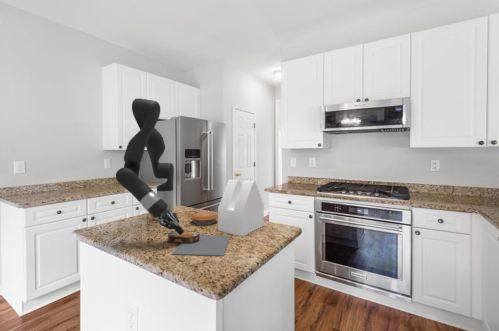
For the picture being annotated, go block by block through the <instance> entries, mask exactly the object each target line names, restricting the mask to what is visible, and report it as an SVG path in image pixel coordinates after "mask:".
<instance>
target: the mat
mask: <svg viewBox="0 0 499 331" xmlns="http://www.w3.org/2000/svg"><path fill="white" fill-rule="evenodd" d="M199 236H200V238H199V239H198V240H197V241H195V242H191V243H181V242H180V244H179V245H178V246H177V247H176V249H175V250H173V252H171V255H172V256H193V257H194V256H195V257H196V256H197V257H198V256H200V257H201V256H204V257H205V256H206V257H207V256H208V257H224V256H225V253H226V250H227V248H228V245H229V243H230V240H231V236H232V235H222V234H221V235H220V234H219V235H214V234H212V235H210V234H199Z"/></svg>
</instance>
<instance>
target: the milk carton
mask: <svg viewBox="0 0 499 331" xmlns="http://www.w3.org/2000/svg"><path fill="white" fill-rule="evenodd" d="M264 210H265V205H264V202H263V199H262V196H261V194H260V191H259V188H258V185H257V183H256V181H252V180H244V181H243V183H242V182H241V180H239V179H228V181H227V184H226V186H225V189H224V192H223V195H222V197H221V200H220V203H219V205H218V208H217V215H218V217H217V221H218V222H217V231H219V232H223V233H227V234H231V235H236V236H239V237H245V236H247V235H248V233H249V234H250V232H251V233H253V232H255V231H257V230H259V229H261V228H263V227H264V226H265V224H264V223H265V222H264V219H265V215H264V214H265V212H264ZM262 226H263V227H262ZM260 227H261V228H260ZM258 228H259V229H258ZM256 229H257V230H256ZM254 230H255V231H254ZM252 231H253V232H252Z"/></svg>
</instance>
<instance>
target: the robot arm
mask: <svg viewBox="0 0 499 331" xmlns="http://www.w3.org/2000/svg"><path fill="white" fill-rule="evenodd" d="M131 110H132V111H131V112H132V115H133V117H134V120H135V122H136V123H137V126H138V128H139V131H138V132H137V133H136V134H135V135H134V136H132V137H131V139H130V140H129V141H128V143H127V145H126V149H125V152H124V155H123V161H124V164H123V167H121V168H119V169H118V170H117V171H116V172H115V179H116V181H117V183H119V185H121V186H122V187H123V188H124V189H125V190H127V191H128V192H129V193H130V194H131V195H132V196H133V197H134V198H135V199H136V200H137V201H138V203H139V204H141V206H142V207H143V208H144V210H146V211H147V213H148V214H149V215H151V216H152V217H153V218H154V219H155V221H156V222H159V226H162V227H164V228H166V229H169V230H174V231H176V232H177V233H178V234H179V235H181V234H182V233H183V232H184V230H185V229H183V227H182V226H181V225H180V220H179V218H178V215H177V213H176V212H174V211H175V209H174V207H175V206H174V175H175V174H174V172H175V167H174V164H173V163H172V162H160V159H161V157H162V155H163V154H164V153H165V150H166V144H165V141H164V137H163V135H162V134H161V133H160V131H159V130H158V129H157V128H156V127H155V126H156V124H157V123H158V120H159V118H160V115H161V104H160V103H159V102H158V101H157V100H153V99H145V98H135V99H133V100H132V103H131ZM145 149H146V151H147V154H148V157H149V159H150V163H151V164H150V165H151V167H152V172H153V175H154V178H156V179H162V180H165V179H166V181H165V182H164V183H161V184H157V186H156V192H155V191H154V190H153V189H152V188H151V187H150V186H149V185H148V184H146V183H145V182H144V181H142V179H141V178H140V177H139V176H140V171H141V162H142V158H143V156H144V153H145Z"/></svg>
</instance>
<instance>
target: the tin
mask: <svg viewBox="0 0 499 331" xmlns="http://www.w3.org/2000/svg"><path fill="white" fill-rule="evenodd" d="M199 235H201V234H200V232H199V231H196V230H186V229H184V232H183V233H182V234H181V235H179V234H178V233H177V232H176V231H175V230H174V231H170V232H168V234H167V240H168V241H169V242H173V243H180V244H181V243H191V242H195V241H197V240H198V239H199V238H200V236H199Z"/></svg>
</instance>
